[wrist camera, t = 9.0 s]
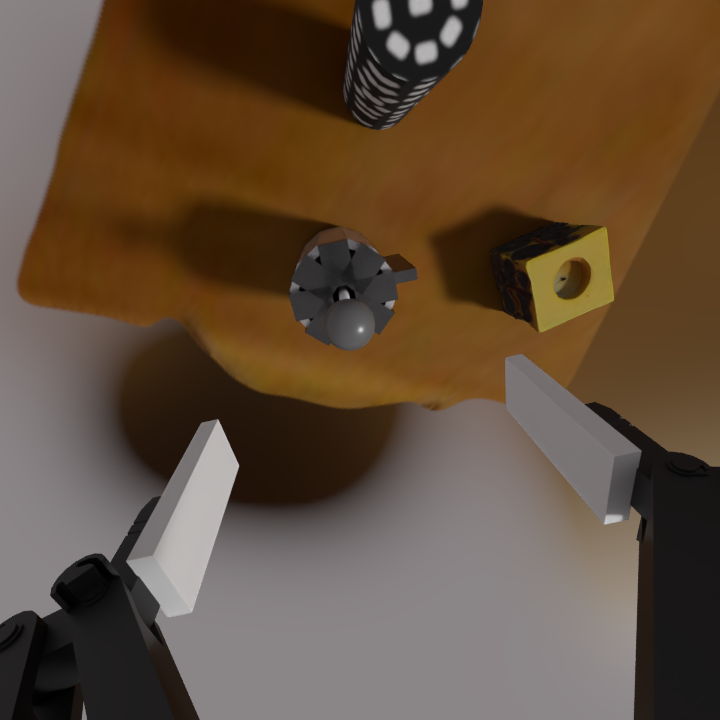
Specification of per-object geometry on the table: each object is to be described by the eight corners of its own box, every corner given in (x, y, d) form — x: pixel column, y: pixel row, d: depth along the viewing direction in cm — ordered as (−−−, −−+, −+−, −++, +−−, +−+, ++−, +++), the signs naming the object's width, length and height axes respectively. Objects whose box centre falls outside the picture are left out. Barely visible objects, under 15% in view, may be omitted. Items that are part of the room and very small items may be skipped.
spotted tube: (352, 137, 43) (371, 96, 25) (335, 51, 39) (343, -69, 21) (419, 120, 43) (487, 66, 25) (407, 32, 39) (478, -106, 21)
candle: (502, 312, 54) (537, 336, 45) (486, 250, 50) (521, 262, 41) (567, 285, 54) (616, 303, 44) (556, 219, 49) (608, 225, 40)
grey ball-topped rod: (304, 246, 46) (284, 294, 24) (361, 234, 46) (394, 270, 24) (318, 302, 49) (312, 389, 27) (371, 290, 49) (409, 368, 27)
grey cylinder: (292, 236, 47) (277, 254, 33) (389, 215, 47) (417, 224, 33) (311, 310, 52) (306, 355, 37) (400, 291, 52) (429, 328, 37)
